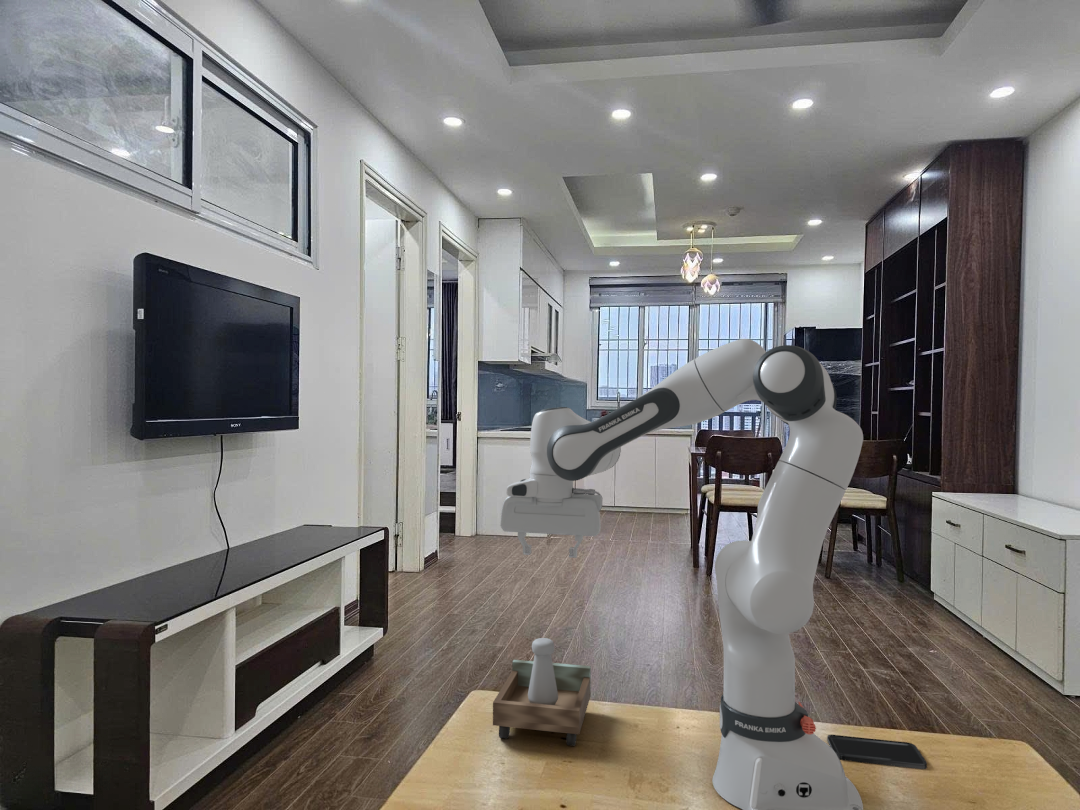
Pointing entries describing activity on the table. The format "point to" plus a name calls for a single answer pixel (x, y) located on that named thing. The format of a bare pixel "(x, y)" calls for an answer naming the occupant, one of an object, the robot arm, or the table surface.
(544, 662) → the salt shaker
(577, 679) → the open wooden tray
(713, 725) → the table surface
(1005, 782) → the table surface
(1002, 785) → the table surface
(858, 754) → the phone
